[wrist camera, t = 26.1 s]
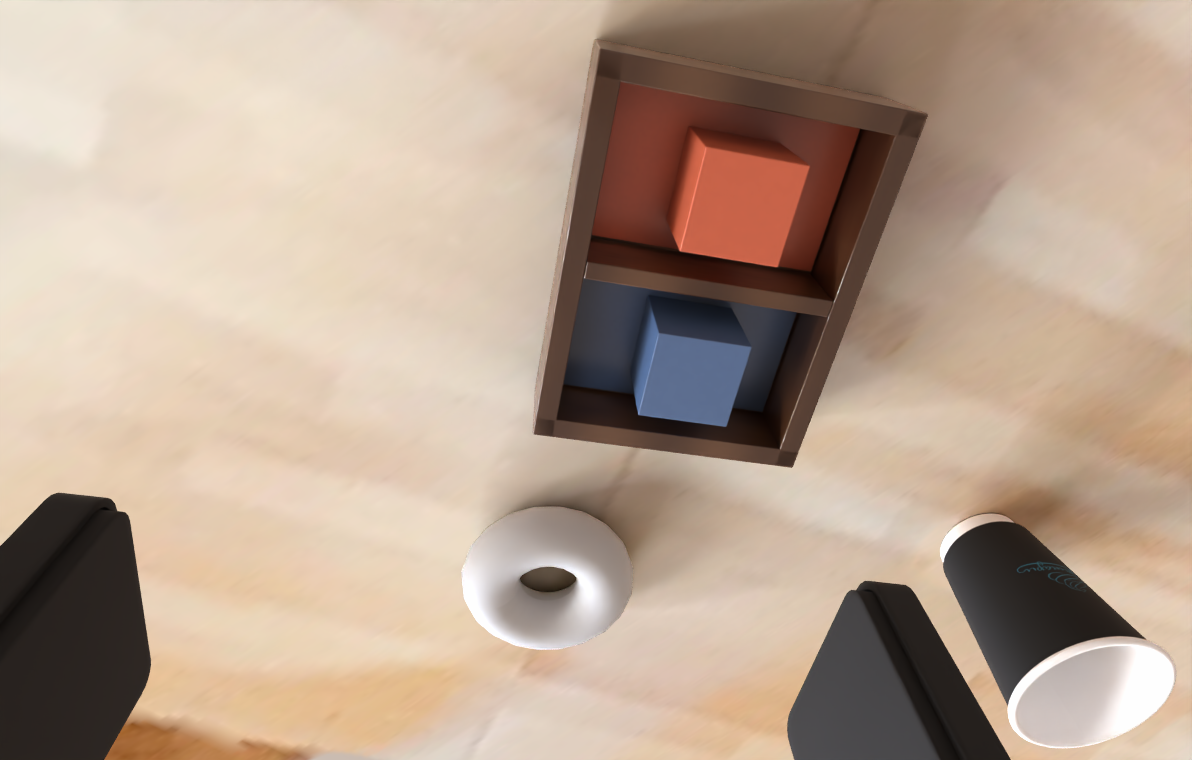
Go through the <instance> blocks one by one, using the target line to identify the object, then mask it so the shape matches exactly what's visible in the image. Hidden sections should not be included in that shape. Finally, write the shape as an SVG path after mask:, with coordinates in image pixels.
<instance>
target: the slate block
mask: <svg viewBox="0 0 1192 760" xmlns="http://www.w3.org/2000/svg"><path fill="white" fill-rule="evenodd" d="M751 349H752V346H751V344H750V342H749V340H748V338H747V336H746V334H745V332H744V331H743V329H742V327H741V325H740V323H739V321H738V319H737V317H736V315H735V313H734V311H733V310H732V308H727V307H720V306H714V305H707V304H701V303H695V302H688V301H682V300H676V299H669V298H663V297H657V296H650V295H648V297H647V301H646V306H645V310H644V314H643V318H642V322H641V327H640V331H639V335H638V339H637V344H636V348H635V352H634V356H633V360H632V365H631V369H630V373H631V379H632V384H633V389H634V395H635V400H636V405H637V411H638V415H643V416H650V417H658V418H665V419H672V420H680V421H687V422H695V423H702V424H709V425H717V426H724V427H726V426H727V423H728V420H729V417H730V414H731V411H732V408H733V405H734V401H735V398H736V395H737V392H738V389H739V386H740V383H741V380H742V377H743V374H744V370H745V367H746V364H747V361H748V358H749V355H750V352H751Z"/></svg>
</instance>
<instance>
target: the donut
mask: <svg viewBox="0 0 1192 760" xmlns="http://www.w3.org/2000/svg"><path fill="white" fill-rule="evenodd" d="M540 567H557V568H562V569H565V570H567V571H569V572H571V573H573V574H574V575H575V576H576V581H575V582H574V583H573V584H572V585H571V586H569V587H567V588H565V589H563V590H560V591H556V592H540V591H535V590H532V589H530V588H528V587H526V586H525V585H524V584H523V583H522V582H521V581H520V577H521V576H522V575H523V574H525V573H527V572H528V571H530V570H532V569H536V568H540ZM632 583H633V566H632V563H631V560H630V558H629V555H628V552H627V550H626V547H625V545H624V543H623V541H622V540H621V539H620V538H619V537H618V536H617V535H616V534H615V533H614V532H613V531H612V530H611V528H610V527H609V526H608V525H606V524H605V523H603V522H602V521H600V520H598V519H596V518H594V517H593V516H591V515H589V514H587V513H585V512H582V511H578V510H574V509H569V508H565V507H561V506H551V507H531V508H528V509H524V510H521V511H517V512H514V513H510V514H508V515H506V516H505V517H503V518H501V519H500V520H498V521H496V522H495V523H493V524H491V525H490V526H488V527H487V528H486V529H485V530H484V531H483V532H482V533H481V535H480V536H479V537H478V538H477V539H476V541H475V542H474V543H473V544H472V545H471V546H470V549H469V552H468V554H467V557H466V560H465V563H464V566H463V569H462V584H463V594H464V599H465V601H466V603H467V605H468V607H469V608H470V610H471V612H472V614H473V615H474V617H475V619H476V621H477V622H478V623H479V624H481V625H482V626H483V627H484V628H485V629H486V630H488V631H489V632H490V633H491V634H492V635H494V636H496V637H498V638H500V639H503V640H505V641H507V642H509V643H511V644H513V645H516V646H520V647H526V648H531V649H536V650H549V649H563V648H567V647H571V646H575V645H579V644H583V643H585V642H587V641H588V640H590V639H592V638H594V637H596V636H598V635H600V634H601V633H603V632H605V631H606V630H607V629H608V628H609V627H610V626H611V625H612V624H613V623H614V622H615V621H616V620H617V619H618V618H619V617H620V616H621V614H622V613H623V611H624V609H625V607H626V605H627V603H628V601H629V599H630V596H631V594H632Z"/></svg>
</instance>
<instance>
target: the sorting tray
mask: <svg viewBox="0 0 1192 760" xmlns="http://www.w3.org/2000/svg"><path fill="white" fill-rule="evenodd" d="M927 117H928V114H927V113H924V112H921V111H919V110H916V109H914V108H911V107H908V106H906V105H903V104H901V103H898V102H895V101H893V100H890V99H887V98H884V97H879V96H874V95H869V94H864V93H859V92H855V91H850V90H845V89H840V88H835V87H830V86H825V85H820V84H815V83H810V82H805V81H800V80H795V79H790V78H785V77H780V76H775V75H771V74H766V73H761V72H756V71H751V70H746V69H741V68H736V67H731V66H726V65H721V64H716V63H711V62H706V61H701V60H696V59H691V58H687V57H682V56H677V55H672V54H667V53H662V52H657V51H652V50H647V49H642V48H637V47H632V46H627V45H622V44H617V43H612V42H608V41H603V40H598V39H595V40H594V44H593V50H592V55H591V61H590V67H589V73H588V79H587V85H586V91H585V97H584V103H583V109H582V115H581V121H580V126H579V132H578V138H577V144H576V150H575V156H574V162H573V168H572V174H571V180H570V186H569V192H568V197H567V203H566V209H565V215H564V221H563V227H562V233H561V239H560V245H559V251H558V257H557V262H556V268H555V274H554V280H553V286H552V292H551V298H550V304H549V310H548V316H547V322H546V328H545V333H544V339H543V345H542V351H541V357H540V363H539V369H538V375H537V381H536V387H535V399H534V419H533V434H535V435H543V436H550V437H558V438H566V439H574V440H581V441H589V442H597V443H605V444H612V445H620V446H628V447H636V448H643V449H651V450H659V451H667V452H674V453H682V454H690V455H698V456H705V457H713V458H721V459H729V460H737V461H744V462H752V463H760V464H768V465H775V466H783V467H791V468H792V467H793V465H794V462H795V460H796V457H797V454H798V451H799V449H800V446H801V444H802V441H803V438H804V436H805V433H806V431H807V428H808V425H809V423H810V420H811V418H812V415H813V413H814V410H815V407H816V405H817V402H818V400H819V397H820V394H821V392H822V389H823V387H824V384H825V381H826V379H827V376H828V374H829V371H830V368H831V366H832V363H833V361H834V358H835V355H836V353H837V350H838V348H839V345H840V342H841V340H842V337H843V335H844V332H845V329H846V327H847V324H848V322H849V319H850V316H851V314H852V311H853V309H854V306H855V303H856V301H857V298H858V296H859V293H860V290H861V288H862V285H863V283H864V280H865V277H866V275H867V272H868V270H869V267H870V264H871V262H872V259H873V257H874V254H875V251H876V249H877V246H878V244H879V241H880V238H881V236H882V233H883V231H884V228H885V225H886V223H887V220H888V218H889V215H890V212H891V210H892V207H893V205H894V202H895V199H896V197H897V194H898V192H899V189H900V186H901V184H902V181H903V179H904V176H905V173H906V171H907V168H908V166H909V163H910V160H911V158H912V155H913V153H914V150H915V147H916V145H917V142H918V140H919V137H920V135H921V132H922V130H923V127H924V124H925V122H926V119H927ZM689 126H692V127H698V128H703V129H708V130H713V131H719V132H724V133H729V134H735V135H740V136H745V137H750V138H756V139H761V140H766V141H771V142H777V143H781V144H782V145H784V146H785V147H786V148H788V149H789V150H790V151H792V152H793V153H794V154H795V155H797V156H798V157H799V158H801V159H802V160H803V161H805V162H806V163H807V164H809V165H810V169H809V172H808V175H807V179H806V182H805V185H804V188H803V191H802V194H801V197H800V200H799V203H798V206H797V210H796V213H795V216H794V219H793V222H792V225H791V228H790V231H789V234H788V238H787V241H786V244H785V247H784V250H783V253H782V256H781V259H780V262H779V265H778V267H772V266H766V265H760V264H754V263H748V262H742V261H736V260H730V259H724V258H718V257H712V256H706V255H700V254H694V253H688V252H682V251H680V250H679V248H678V245H677V243H676V241H675V239H674V236H673V234H672V232H671V230H670V227H669V225H668V223H667V221H666V219H667V215H668V210H669V206H670V202H671V198H672V193H673V189H674V185H675V181H676V177H677V172H678V168H679V164H680V160H681V156H682V151H683V147H684V143H685V139H686V134H687V130H688V127H689ZM648 295H650V296H657V297H663V298H669V299H676V300H682V301H688V302H695V303H701V304H707V305H714V306H720V307H727V308H732V310H733V311H734V313H735V315H736V317H737V319H738V321H739V323H740V325H741V327H742V329H743V331H744V332H745V334H746V336H747V338H748V340H749V342H750V344H751V346H752V349H751V352H750V355H749V358H748V361H747V364H746V367H745V370H744V374H743V377H742V380H741V383H740V386H739V389H738V392H737V395H736V398H735V401H734V405H733V408H732V411H731V414H730V417H729V420H728V423H727V426H726V427H724V426H717V425H709V424H702V423H695V422H687V421H680V420H672V419H665V418H658V417H650V416H643V415H638V411H637V405H636V400H635V395H634V389H633V384H632V379H631V373H630V369H631V365H632V360H633V356H634V352H635V348H636V344H637V339H638V335H639V331H640V327H641V322H642V318H643V314H644V310H645V306H646V301H647V297H648Z"/></svg>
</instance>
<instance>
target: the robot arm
mask: <svg viewBox="0 0 1192 760" xmlns="http://www.w3.org/2000/svg"><path fill="white" fill-rule="evenodd" d="M150 667H151V658H150V651H149V645H148V638H147V631H146V625H145V618H144V611H143V605H142V598H141V591H140V585H139V578H138V571H137V565H136V558H135V551H134V545H133V538H132V531H131V525H130V520H129V516H128V515H127V514H126V513H125V512H118V511H117V509H116V506H115V503H114V502H113V501H112V500H111V499H109V498H103V497H93V496H84V495H75V494H66V493H56V494H53V495H51V496H50V497H48V498H47V499H46V500H45V501H44V502H43V503H42V504H41V505H40V506H39V507H38V508H37V509H36V510H35V511H34V512H33V513H32V514H31V515H30V516H29V517H28V518H27V519H26V520H25V521H24V522H23V523H22V524H21V525H20V526H19V527H18V529H17V530H16V531H15V532H14V533H13V534H12V535H11V536H10V537H9V538H8V539H7V540H6V541H5V542H4V543H3V544H2V545H1V546H0V760H104V759H105V757H106V755H107V754H108V752H109V750H110V748H111V747H112V745H113V743H114V741H115V740H116V738H117V736H118V734H119V733H120V731H121V729H122V727H123V726H124V724H125V722H126V721H127V719H128V717H129V715H130V714H131V712H132V710H133V708H134V707H135V705H136V703H137V701H138V700H139V698H140V696H141V694H142V692H143V690H144V688H145V686H146V683H147V681H148V677H149V673H150ZM787 731H788V739H789V743H790V746H791V750H792V753H793V756H794V760H1011V759H1010V758H1009V756H1008V754H1007V752H1006V751H1005V749H1004V747H1003V745H1002V744H1001V742H1000V740H999V738H998V737H997V735H996V733H995V732H994V730H993V728H992V726H991V725H990V723H989V721H988V719H987V718H986V716H985V714H984V712H983V711H982V709H981V707H980V706H979V704H978V702H977V700H976V699H975V697H974V695H973V693H972V692H971V690H970V688H969V687H968V685H967V683H966V681H965V680H964V678H963V676H962V674H961V673H960V671H959V669H958V667H957V666H956V664H955V662H954V661H953V659H952V657H951V655H950V654H949V652H948V650H947V648H946V647H945V645H944V643H943V641H942V640H941V638H940V636H939V635H938V633H937V631H936V629H935V628H934V626H933V624H932V622H931V621H930V619H929V617H928V615H927V614H926V612H925V610H924V609H923V607H922V605H921V603H920V602H919V600H918V598H917V596H916V595H915V593H914V592H913V591H912V589H911V588H909V587H908V586H906V585H900V584H891V583H882V582H873V581H864V582H863V583H861V584H860V585H859V587H858V588H857V590H851V591H849V592H848V593H847V594H846V596H845V598H844V600H843V602H842V604H841V606H840V608H839V610H838V612H837V614H836V617H835V619H834V621H833V623H832V625H831V627H830V629H829V631H828V633H827V636H826V638H825V640H824V642H823V644H822V646H821V648H820V650H819V652H818V654H817V657H816V659H815V661H814V663H813V665H812V667H811V669H810V671H809V673H808V675H807V678H806V680H805V682H804V684H803V686H802V688H801V690H800V692H799V694H798V696H797V699H796V701H795V703H794V705H793V707H792V709H791V711H790V714H789V717H788V726H787Z"/></svg>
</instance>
